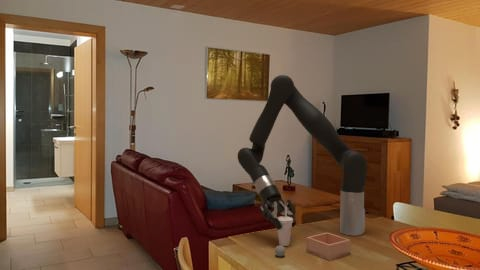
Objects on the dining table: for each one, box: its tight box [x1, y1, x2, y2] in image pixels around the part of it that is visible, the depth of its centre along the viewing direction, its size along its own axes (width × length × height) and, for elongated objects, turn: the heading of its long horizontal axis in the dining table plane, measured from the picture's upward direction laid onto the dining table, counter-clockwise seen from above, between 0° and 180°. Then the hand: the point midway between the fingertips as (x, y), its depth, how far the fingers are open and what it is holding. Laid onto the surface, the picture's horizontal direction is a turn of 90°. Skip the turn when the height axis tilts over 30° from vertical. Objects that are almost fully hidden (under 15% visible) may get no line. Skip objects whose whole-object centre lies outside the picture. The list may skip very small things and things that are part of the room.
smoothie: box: [277, 207, 293, 247], centre depth 146 cm, size 6×6×14 cm
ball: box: [274, 245, 286, 257], centre depth 134 cm, size 4×4×4 cm
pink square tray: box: [305, 232, 352, 261], centre depth 138 cm, size 11×11×5 cm
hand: (287, 227), depth 144 cm, fingers closed on smoothie, 6 cm apart
